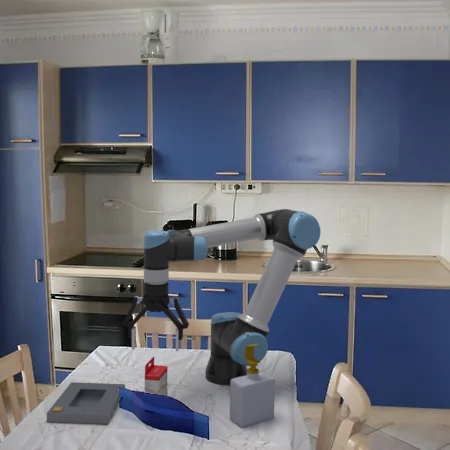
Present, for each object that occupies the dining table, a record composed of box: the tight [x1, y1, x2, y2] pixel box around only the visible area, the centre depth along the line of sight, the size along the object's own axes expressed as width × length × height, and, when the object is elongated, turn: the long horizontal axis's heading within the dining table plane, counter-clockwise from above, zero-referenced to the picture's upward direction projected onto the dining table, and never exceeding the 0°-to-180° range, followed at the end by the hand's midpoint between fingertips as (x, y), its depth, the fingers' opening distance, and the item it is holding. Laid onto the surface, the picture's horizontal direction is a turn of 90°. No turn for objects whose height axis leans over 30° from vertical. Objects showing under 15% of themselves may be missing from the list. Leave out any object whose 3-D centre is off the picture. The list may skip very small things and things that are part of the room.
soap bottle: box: [229, 344, 276, 428], centre depth 163 cm, size 12×7×23 cm, turn 123°
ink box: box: [144, 356, 168, 397], centre depth 171 cm, size 8×5×15 cm, turn 168°
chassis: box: [46, 382, 126, 425], centre depth 171 cm, size 18×22×3 cm
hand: (155, 349), depth 169 cm, fingers open, 13 cm apart
